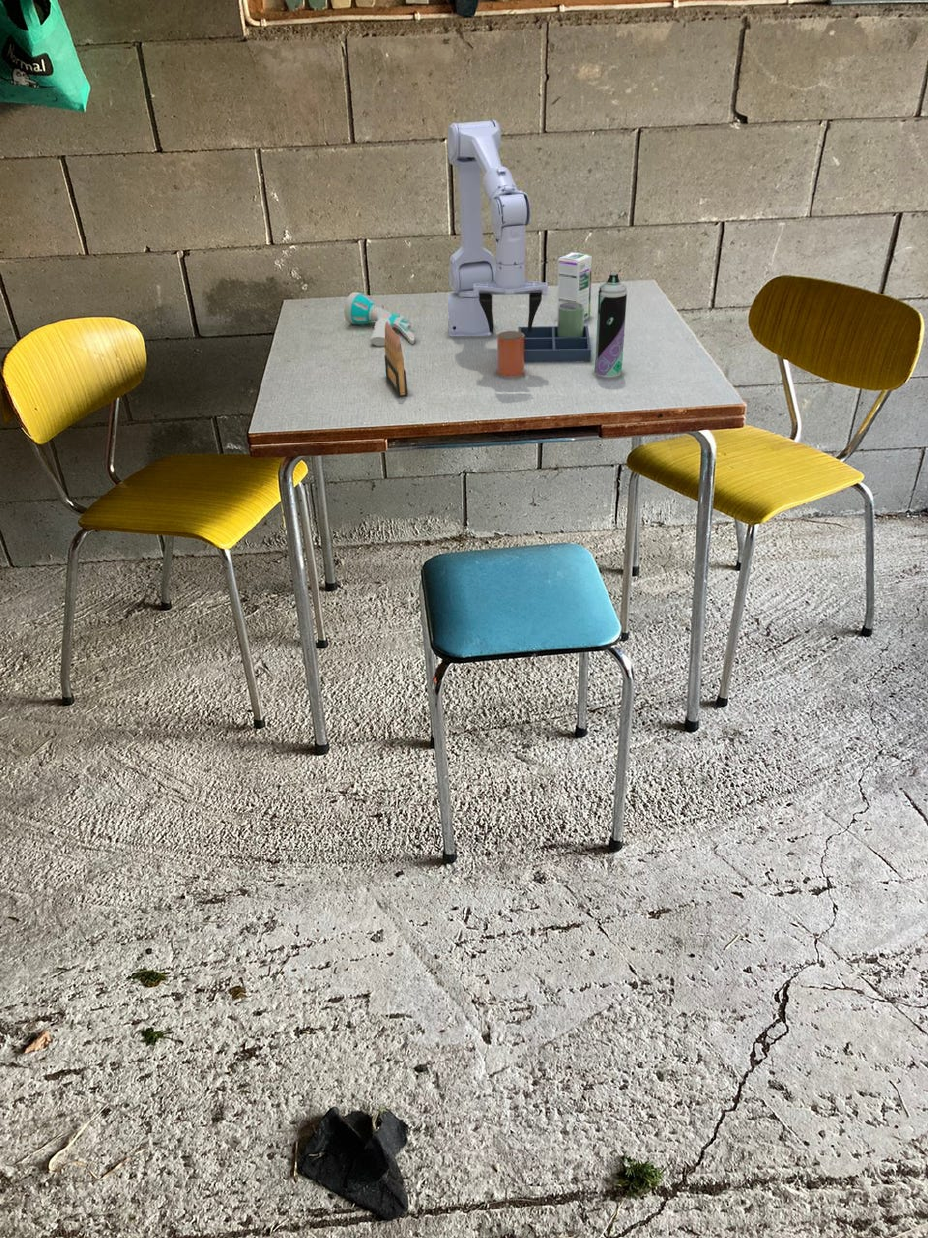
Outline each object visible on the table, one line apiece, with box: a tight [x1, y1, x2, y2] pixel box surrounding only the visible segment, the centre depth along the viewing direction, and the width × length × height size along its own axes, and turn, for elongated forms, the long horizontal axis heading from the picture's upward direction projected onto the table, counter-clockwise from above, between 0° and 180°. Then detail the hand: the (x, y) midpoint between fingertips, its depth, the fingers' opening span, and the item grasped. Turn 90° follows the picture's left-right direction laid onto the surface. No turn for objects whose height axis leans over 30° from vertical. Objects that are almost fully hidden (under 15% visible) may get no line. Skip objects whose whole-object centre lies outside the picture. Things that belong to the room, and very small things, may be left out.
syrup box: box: [556, 251, 593, 320], centre depth 217 cm, size 6×6×14 cm
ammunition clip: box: [384, 322, 408, 398], centre depth 187 cm, size 11×2×12 cm, turn 18°
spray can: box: [594, 273, 628, 378], centre depth 187 cm, size 6×6×20 cm
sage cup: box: [557, 302, 585, 338], centre depth 205 cm, size 6×6×8 cm
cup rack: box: [517, 325, 592, 363], centre depth 204 cm, size 15×15×3 cm
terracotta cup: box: [496, 330, 525, 378], centre depth 193 cm, size 6×6×8 cm
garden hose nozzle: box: [343, 291, 416, 347], centre depth 218 cm, size 7×18×20 cm
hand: (510, 330), depth 190 cm, fingers open, 7 cm apart
